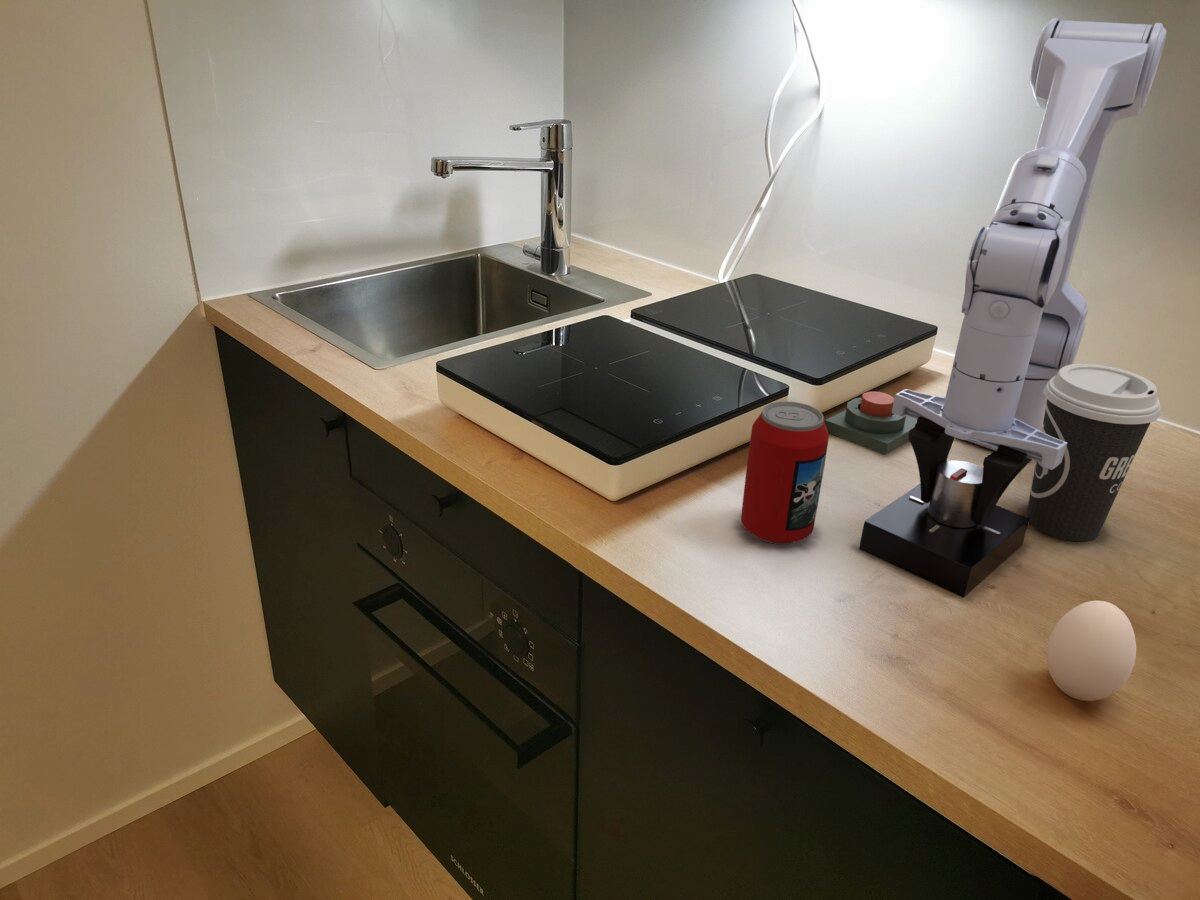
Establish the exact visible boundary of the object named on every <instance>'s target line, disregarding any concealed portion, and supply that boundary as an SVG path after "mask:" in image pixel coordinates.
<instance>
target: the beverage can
mask: <svg viewBox="0 0 1200 900" xmlns="http://www.w3.org/2000/svg"><path fill="white" fill-rule="evenodd" d="M829 439H830V433H828V430H827V428H826V425H825V416H824V414H823V413H822V412H821V411H820V410H819V409H818V408H816V407H814V406H811V405H809V404H806V403H801V402H797V401H787V400H785V401H776V402H770V403H768V404H766V405H764V407H763V408H762V410H761V412H760V414H759V415H758V417H757V418H756V419H755V420H754V422H753V423H752V426H751V433H750V440H749V448H748V455H747V464H746V472H745V479H744V486H743V487H744V488H743V496H742V506H741V514H740V515H741V516H740V521H741V525H742V526H743V527H744V529H745V530H746V531H747V532H749V534H751V535H753V536H755V537H756V538H757V539H759V540H761V541H764V542H767V543H770V544H774V545H775V544H776V545H788V544H793V543H797V542H800V541H803V540H805V539H807V538H809V537H810V536H811V535H812V533H813V531H814V527H815V521H816V516H817V512H818V511H817V510H818V506H819V500H820V494H821V490H822V489H821V488H822V482H823V476H824V470H825V465H826V458H827V451H828V446H829Z"/></svg>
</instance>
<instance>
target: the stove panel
mask: <svg viewBox="0 0 1200 900" xmlns="http://www.w3.org/2000/svg"><path fill="white" fill-rule="evenodd" d="M929 503H930V502H929ZM929 503H925V502H922V501H921V485H920V483H919V484H918V485H916V486H914V488H912V489H910V490H909V491H907V492H905V493H904V494H903V495H901V496H900V497H898V498H897V499H896V500H894V501H892V502H891V503H889V504H888V505H887V506H884V507H883V508H882V509H880V510H878V511H877V512H876V513H875V514H873V515H871V516H870V517H868V518H867V519H865V520H864V521H863V526H862V531H861V535H860V536H861V537H860V542H859V546H858V550H860V551H862V552H865V553H867V554H868V555H870V556H873V557H875V558H877V559H879V560H880V561H881V560H882V561H884V562H886V563H887V564H890V565H892V566H894V567H896V568H899V569H900V570H903V571H905V572H907V573H909V574H912V575H914V576H916V577H918V578H920V579H921V580H923V581H927V582H929V583H931V584H933V585H935V586H936V587H939V588H941V589H943V590H946V591H947V592H950V593H952V594H954V595H956V596H958V597H961V598H963V599H964V598H965V597H967V596H968V594H970V593H971V592H972V591H973V590H975V588H976V587H977V586H979V585H980V584H981V583H982V582H983V581H984V580H985V579H987V577H989V576H990V575H991V574H992V573H993V572H994V571H995V570H997V569H998V567H1000V566H1001V565H1002V564H1003V563H1004V562H1005V561H1007V560H1008V559H1009V558H1010V557H1012V555H1013V554H1015V552H1016V551H1018V550H1019V549H1020V548H1021V547H1023V544H1024V542H1025V541H1024V540H1025V537H1026V533H1027V530H1028V527H1029V524H1030V522H1029V520H1030V518H1028V517H1027V516H1025V515H1022V514H1020V513H1018V512H1015V511H1012V510H1011V509H1008V508H1005V507H1002V506H1001V505H1000V506H999V505H997V504H996V506H995V508H994V510H993V512H992V514H991V516H990V518H989V519H988V520H987V521H985V522H984V523H983V524H982V525H978V524H976V525H975V526H973V527H969V528H957V527H951V526H948V525H944V524H942V523H940V522H938V521H936V520H935V519H933V518H932V517H931V516H930V515H929V512H928V508H929Z"/></svg>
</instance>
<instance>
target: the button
mask: <svg viewBox="0 0 1200 900" xmlns="http://www.w3.org/2000/svg"><path fill="white" fill-rule="evenodd" d="M861 398H862V400H861V405H860V411H862V412H863V413H866V414H868V415H871V416H878V417H887V416H891V415H892V408H893V403H894V398H895V397H894V396H892V395H891V394H888V393H885V392H882V391H867V392H864V393H863V394H862V395H861Z"/></svg>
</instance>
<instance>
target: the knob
mask: <svg viewBox="0 0 1200 900" xmlns="http://www.w3.org/2000/svg"><path fill="white" fill-rule="evenodd" d="M982 479H983V466H982V467H981V466H980V465H978V464H975V463H972V462H968V461H963V460H956V459H955V460H952V459H951V460H947V461H945V462H942V463H941V464H939V466H938V469H937V473H936V478H935V482H934V486H933V490H932V495H931V499H930V503H929V508H928V512H929V515H930V516H931V517H932V518H933V519H935V520H936V521H938V522H940V523H942V524H944V525H948V526H951V527H957V528H969V527H973V526H975V525H976V523H973V516H974V512H975V508H976V505H977V502H978V499H979V496H980V492H981V486H982Z"/></svg>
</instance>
